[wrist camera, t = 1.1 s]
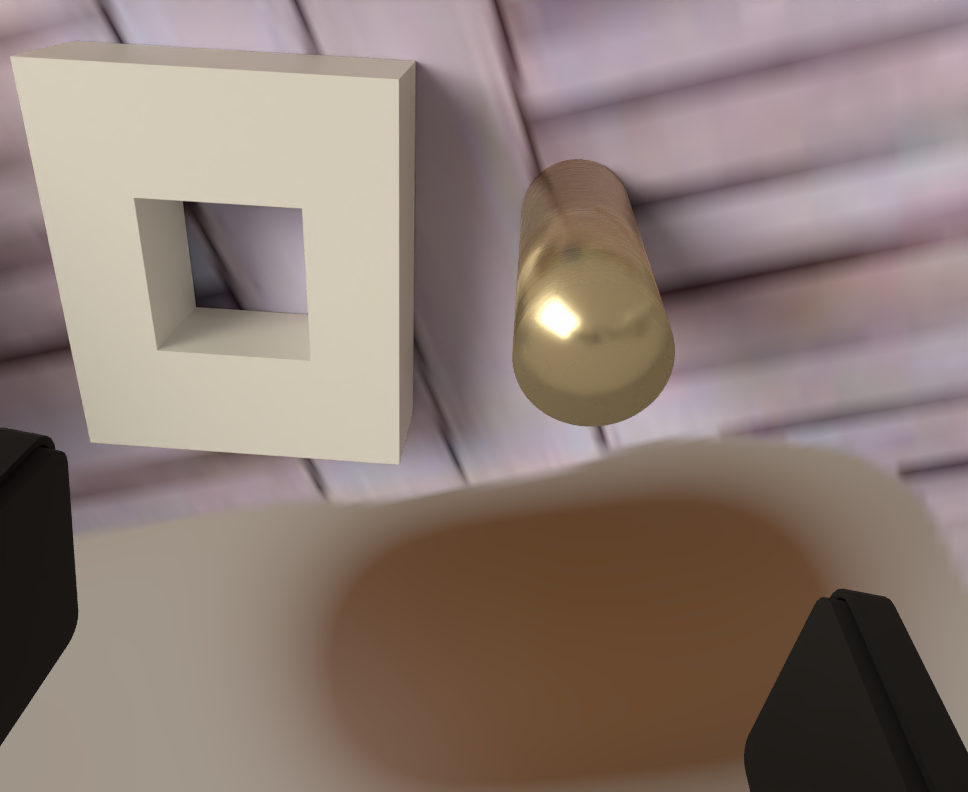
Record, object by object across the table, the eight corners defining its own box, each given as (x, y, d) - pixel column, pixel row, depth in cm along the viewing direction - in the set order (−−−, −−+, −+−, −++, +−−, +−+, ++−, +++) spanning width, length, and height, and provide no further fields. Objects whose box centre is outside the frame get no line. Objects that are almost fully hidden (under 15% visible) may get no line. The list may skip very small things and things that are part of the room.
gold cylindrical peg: (637, 162, 31) (686, 287, 20) (622, 268, 33) (661, 431, 22) (525, 156, 31) (518, 275, 20) (518, 261, 33) (507, 420, 22)
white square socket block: (415, 60, 29) (399, 79, 26) (412, 412, 36) (399, 464, 33) (72, 40, 30) (10, 56, 26) (133, 392, 37) (90, 442, 33)
